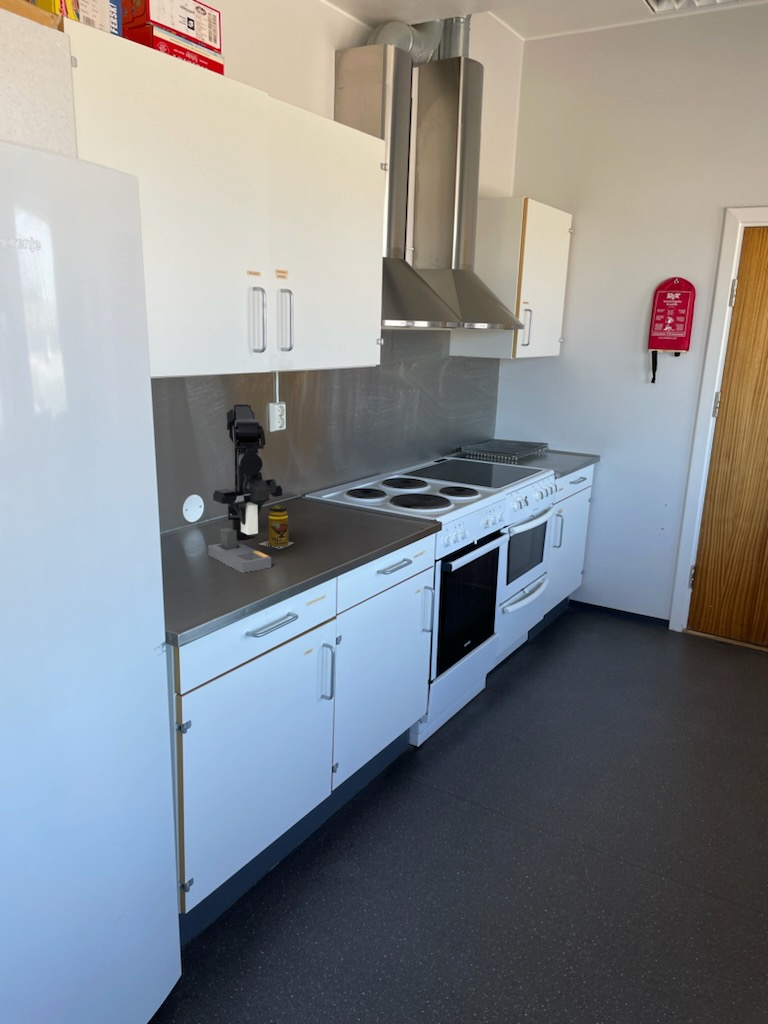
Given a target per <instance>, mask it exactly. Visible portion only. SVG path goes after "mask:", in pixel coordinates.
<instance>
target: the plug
mask: <svg viewBox="0 0 768 1024" xmlns="http://www.w3.org/2000/svg"><path fill="white" fill-rule="evenodd" d="M245 515H246V522H245V525H243V524H242V522H241V532H243V533H245V534H247V535H251V534H253V535H256V534H258V533H259V522H258V521H259V519H258V518H259V516H258V505H256V504H253V503H251V502H248V503H247V504H246V506H245Z"/></svg>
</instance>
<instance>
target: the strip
mask: <svg viewBox="0 0 768 1024" xmlns="http://www.w3.org/2000/svg"><path fill="white" fill-rule="evenodd" d="M207 548H208V556H209V557H210V556H211V558H212V557H213V559H214V558H215V559H214V560H216V559H217V560H216V561H218V560H219V561H218V562H220V561H221V562H220V563H222V562H223V563H222V564H224V563H225V564H224V565H226V566H228V567H229V566H230V568H231V567H232V569H233V568H234V570H235V571H236V572H239V573H241V572H242V573H241V574H246V573H245V572H248V573H251V572H250V571H252V572H256V571H255V570H257V571H260V570H261V569H262V570H266V568H267V569H270V568H272V556H269V555H267V554H265V553H263V552H261V551H259V550H256V549H255V548H253V547H250V546H248V545H246V544H243V543H241V542H239V540H237V548H236V549H230V550H225V549H222V548H221V542H220V543H215V544H210V545H208V546H207ZM262 570H261V571H262Z"/></svg>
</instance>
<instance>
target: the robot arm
mask: <svg viewBox="0 0 768 1024" xmlns="http://www.w3.org/2000/svg"><path fill="white" fill-rule="evenodd" d="M225 416H226V417H225V429H226V431H228V437H229V439H230V441H231V442H232V443H233V473H234V474H233V476H234V477H233V478H234V479H233V485H234V487H233V488H232V489H229V488H222V489H215V490H214V491H213V493H212V500H213V502H214V501H215V502H217V503H219V504H222V505H225V504H226V515H227V516H226V517H227V521H231V528H232V529H234V530H236V532H237V541H239V540H240V541H241V540H247V539H251V538H255V537H256V534H251V535H247V534H245V533H243V532H241V522H242V524H243V525H245V522H246V515H245V506H246V504H247V503H248V502H251V503H253V504H256V505H258V517H259V516H260V512H261V510H262V508H263V505H264V504H266V502H268V501H270V495H271V496H272V497H274V498H275V497H276V498H277V497H283V496H284V495H283V494H284V490H283V487H282V486H281V485H280V484H277V481H276V480H275V479H274V478H272V479H265V480H264V479H263V474H262V471H261V470H262V468H263V466H264V465H263V459H262V458H261V456H260V453H259V449H261V450H263V449H264V447H265V446H266V435H265V429H264V428H263V426H262V425H260V422H259V420H257V419H256V413H255V412H254V411H253V410H252V406H251V405H250V404H248V403H235V404H233V405H232V408H231V410H229V411H228V412H226V415H225Z"/></svg>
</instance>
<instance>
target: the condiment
mask: <svg viewBox="0 0 768 1024" xmlns="http://www.w3.org/2000/svg"><path fill="white" fill-rule="evenodd" d="M287 508H288V507H286V506H285V505H279V504H278V505H271V506H270V507H269V515H268V518H267V520H268V540H267V541H264V542H263V541H262V542H261V543H259V545H261V546H266V547H270V546H272V547H270V548H274V547H275V549H279V550H280V549H283V548H286V547H289V546H291V545H292V544H294V542H292V541H289V516H288V509H287ZM266 544H267V545H266ZM268 545H269V546H268ZM284 546H285V547H284ZM278 547H280V548H278Z"/></svg>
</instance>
